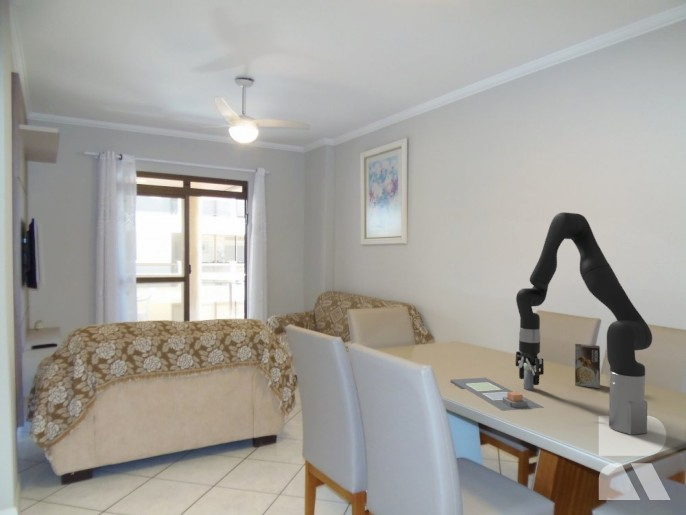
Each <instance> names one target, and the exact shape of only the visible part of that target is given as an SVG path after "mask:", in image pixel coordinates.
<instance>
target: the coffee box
mask: <svg viewBox="0 0 686 515" xmlns="http://www.w3.org/2000/svg"><path fill="white" fill-rule="evenodd" d="M574 354H575V355H574V386H577V385H578V387H585V386H586V387H589V388H596V389H601V347H600V345H593V344H584V343H575V345H574Z"/></svg>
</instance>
